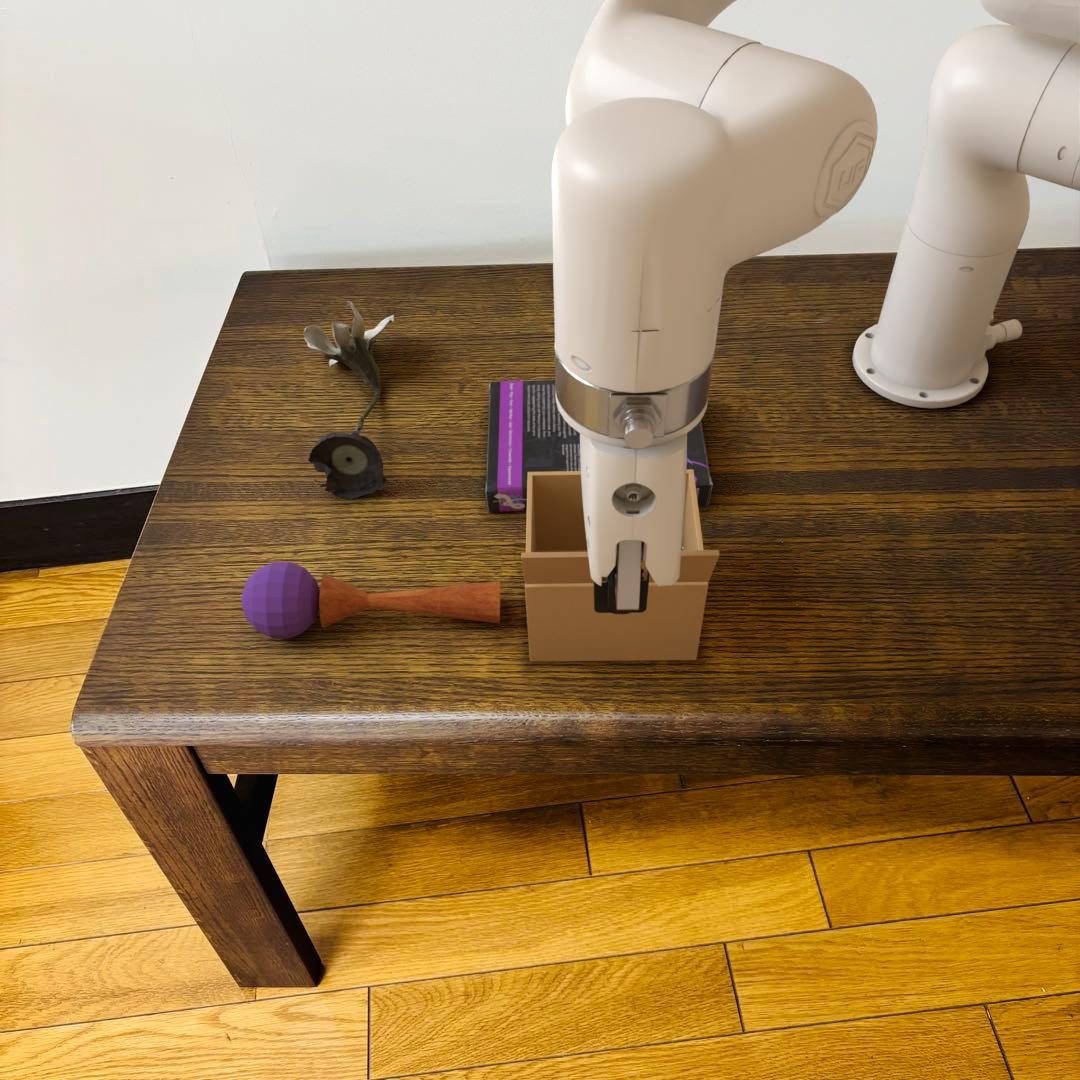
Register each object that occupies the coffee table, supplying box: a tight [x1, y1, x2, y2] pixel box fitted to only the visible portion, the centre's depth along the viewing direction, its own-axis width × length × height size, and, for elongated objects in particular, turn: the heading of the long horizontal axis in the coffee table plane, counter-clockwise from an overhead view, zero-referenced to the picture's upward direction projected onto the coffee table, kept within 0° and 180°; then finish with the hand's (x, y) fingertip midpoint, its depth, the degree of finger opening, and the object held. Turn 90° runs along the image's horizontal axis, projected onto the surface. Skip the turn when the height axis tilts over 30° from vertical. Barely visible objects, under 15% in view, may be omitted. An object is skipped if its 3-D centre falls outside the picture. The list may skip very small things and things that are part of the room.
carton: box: [524, 469, 709, 662], centre depth 77 cm, size 13×11×9 cm
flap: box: [520, 549, 720, 585], centre depth 67 cm, size 13×6×1 cm
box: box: [484, 379, 714, 513], centre depth 90 cm, size 14×4×20 cm
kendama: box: [240, 561, 501, 639], centre depth 78 cm, size 6×6×20 cm
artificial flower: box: [292, 301, 395, 500], centre depth 94 cm, size 9×22×10 cm, turn 179°
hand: (619, 602), depth 62 cm, fingers closed
